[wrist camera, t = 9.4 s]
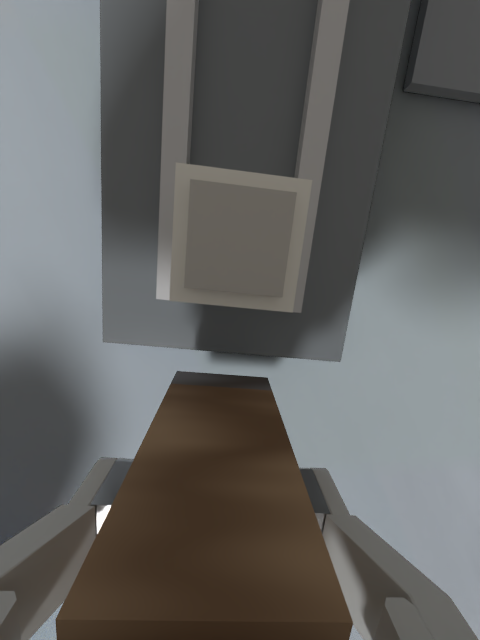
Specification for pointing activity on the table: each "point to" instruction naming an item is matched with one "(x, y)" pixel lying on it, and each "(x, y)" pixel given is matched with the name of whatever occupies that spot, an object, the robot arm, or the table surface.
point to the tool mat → (446, 50)
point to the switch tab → (237, 237)
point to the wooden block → (209, 531)
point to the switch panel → (241, 152)
